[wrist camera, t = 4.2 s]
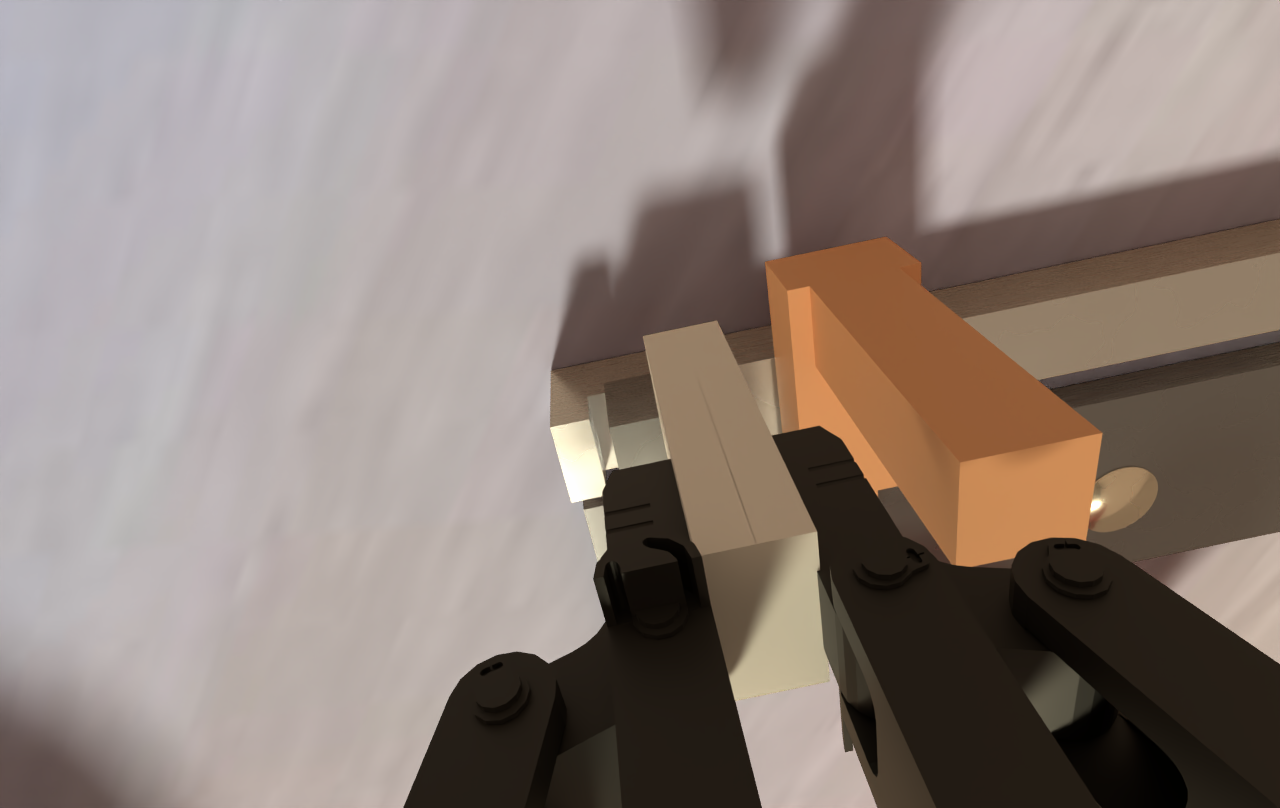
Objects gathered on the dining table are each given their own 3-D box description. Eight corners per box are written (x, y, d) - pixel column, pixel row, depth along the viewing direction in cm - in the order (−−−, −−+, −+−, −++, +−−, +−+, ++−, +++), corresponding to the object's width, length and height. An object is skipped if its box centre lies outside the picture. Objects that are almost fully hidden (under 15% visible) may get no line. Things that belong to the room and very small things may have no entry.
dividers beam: (610, 590, 26) (619, 692, 22) (548, 361, 21) (546, 440, 18) (1291, 449, 26) (1416, 527, 22) (1371, 190, 21) (1546, 233, 18)
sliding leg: (795, 591, 24) (918, 903, 16) (759, 255, 19) (924, 470, 10) (885, 572, 24) (1057, 875, 16) (878, 230, 19) (1137, 425, 10)
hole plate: (624, 640, 27) (627, 667, 26) (582, 486, 24) (583, 510, 22) (1274, 506, 27) (1304, 527, 26) (1327, 331, 24) (1365, 348, 22)
